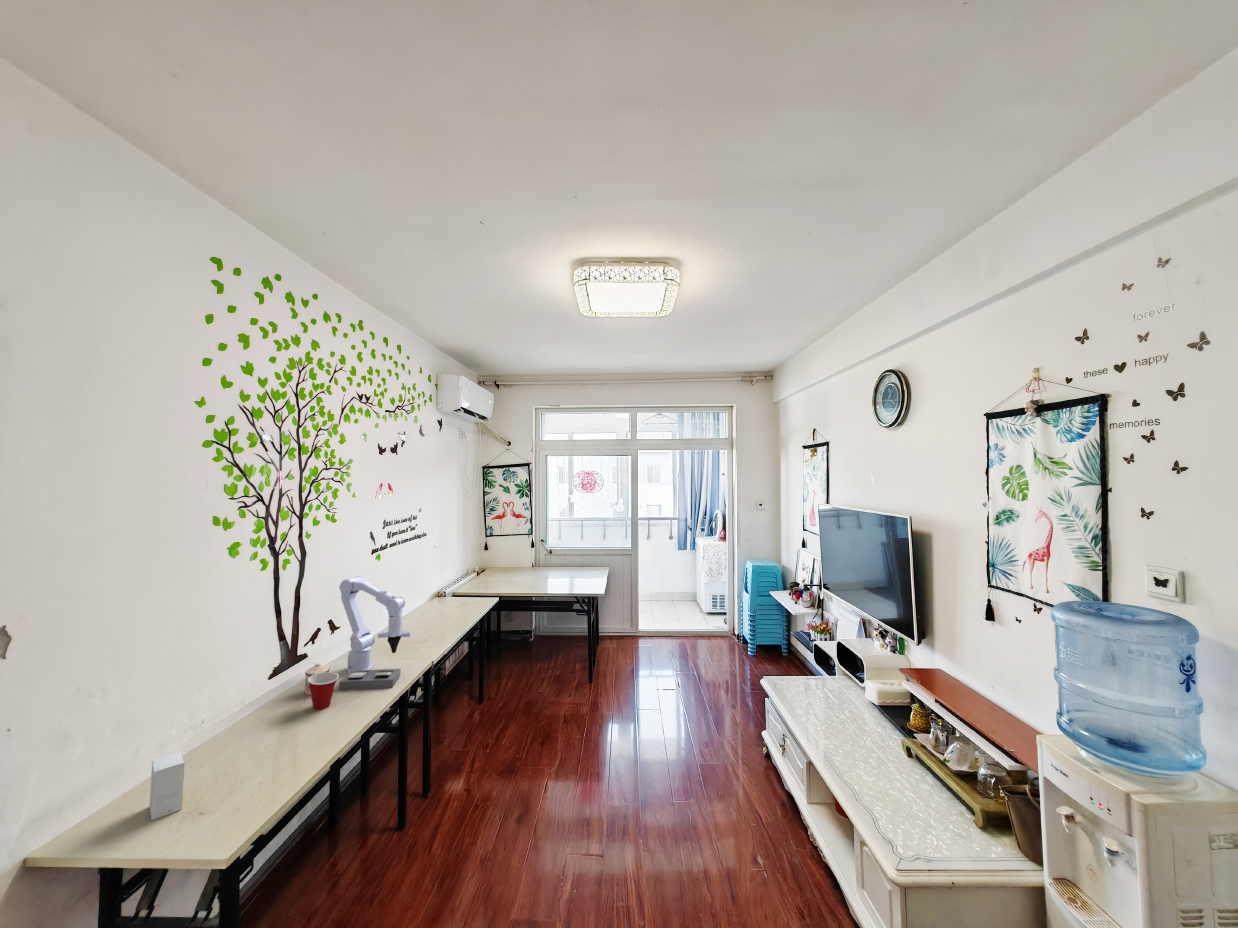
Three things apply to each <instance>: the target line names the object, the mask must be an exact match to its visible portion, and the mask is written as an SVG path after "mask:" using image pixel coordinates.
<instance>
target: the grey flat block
mask: <svg viewBox="0 0 1238 928" xmlns="http://www.w3.org/2000/svg"><path fill="white" fill-rule="evenodd" d="M355 672H367V674H366V675H364V676H362V677H355V678H349V675H351V674H353V673H355ZM381 672H392V674H391V675H375V674H376V673H381ZM401 673H402V672H401V668H383V669H382V668H381V669H369V670H353V671H349V672H347V673H346V674H345V675H344V676H343V677H342V678H341V680H340V681H339V682H338V690H339V691H342V690H343V691H345V690H346V691H347V690H365V689H366V690H368V689H369V690H370V689H387V688H394V686H395V685H396V683H397V682H398V680H399V679H400V677H401Z"/></svg>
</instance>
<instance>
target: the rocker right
mask: <svg viewBox="0 0 1238 928" xmlns="http://www.w3.org/2000/svg"><path fill="white" fill-rule="evenodd" d="M391 674H392V672H381V673H376V674H375V675H391Z"/></svg>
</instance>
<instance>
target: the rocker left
mask: <svg viewBox="0 0 1238 928" xmlns="http://www.w3.org/2000/svg"><path fill="white" fill-rule="evenodd" d="M366 674H367V672H355V673H353V674H351V675H349V678H355V677H362V676H364V675H366Z"/></svg>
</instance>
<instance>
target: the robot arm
mask: <svg viewBox="0 0 1238 928" xmlns="http://www.w3.org/2000/svg"><path fill="white" fill-rule="evenodd" d="M338 588H339V590H340V597H341V598H340V599H341V602H342V605H343V608H344V611H345V614H346V617H347V619H348V620H347V621H348V622H349V625H350V627H351V631H352V634H351V635H350V638H349V640H350V641H349V642H350V649H351V650H349V652H348V655H347V666H346V667H347V668H346V669H347V670H346V672H347V673H348V672H349V671H353V670H371V668H372V667H373V666H374V664H373V663H371V660H372V659H371V657H372V656H371V655H372V647H373V645H374V644H375V640H376V638H375V636H374V634H373V633H372V632H371V629H369V628H366V625H365V623H364V619H363V618H362V615H361V611H360V609H359V605H358V602H357V600H356V596H357V595H358V593H359V592H360V591H363V592H365V593H366V594H368V595H370V596H372V597H374V598H375V601H376V602H377V603H379V604H381V605H383V606H384V607H386V610H387V611H388V612H387V614H388V626H387V627H388V631H383V632H378V634H377V638H378V639H380V638H387V639H386V641H387V643H388V644H389V646H390V651H391V653H392V654H395V653H396V652H397V649H398V645H399V643H400V641H401V639H402V638H406V637H407V638H411V636H412V632H411V631H405V630H404V631H403V630H402V623H403V622H402V621H403V608H404V607H405V606H406V601H405V599H404V598H403V597H402V596H396V595H394V594H392V593H390V592H389V591H388V590H387V589H382V590H380V589H379V588H377V587H376V586H374V585H373V584H371V583H370V582H369V581H368V580H367V578H365V577H363V576H361V575H357V576H354V577H352V578H348V579H343V580H342V581H341V582H340V584H339V586H338Z"/></svg>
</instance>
